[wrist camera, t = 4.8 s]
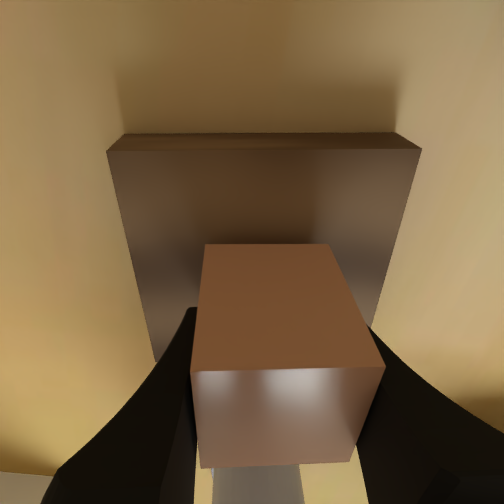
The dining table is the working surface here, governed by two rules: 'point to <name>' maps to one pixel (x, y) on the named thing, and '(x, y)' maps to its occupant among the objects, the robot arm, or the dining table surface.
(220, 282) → the terracotta block
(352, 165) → the walnut base slab
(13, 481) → the milk
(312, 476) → the dining table surface
